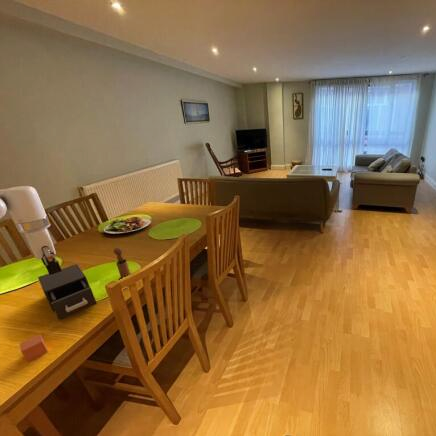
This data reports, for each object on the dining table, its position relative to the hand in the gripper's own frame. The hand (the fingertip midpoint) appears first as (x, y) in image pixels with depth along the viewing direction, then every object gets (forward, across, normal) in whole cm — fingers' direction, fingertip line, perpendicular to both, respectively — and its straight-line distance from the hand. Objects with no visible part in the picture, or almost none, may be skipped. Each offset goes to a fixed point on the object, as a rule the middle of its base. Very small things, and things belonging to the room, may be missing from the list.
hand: (52, 267), depth 86 cm
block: (+20, +14, -12) cm, 27 cm away
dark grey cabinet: (+20, -13, +2) cm, 24 cm away
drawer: (+19, -1, +2) cm, 19 cm away
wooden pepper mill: (+20, -3, +21) cm, 29 cm away
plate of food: (+20, -70, +45) cm, 86 cm away
